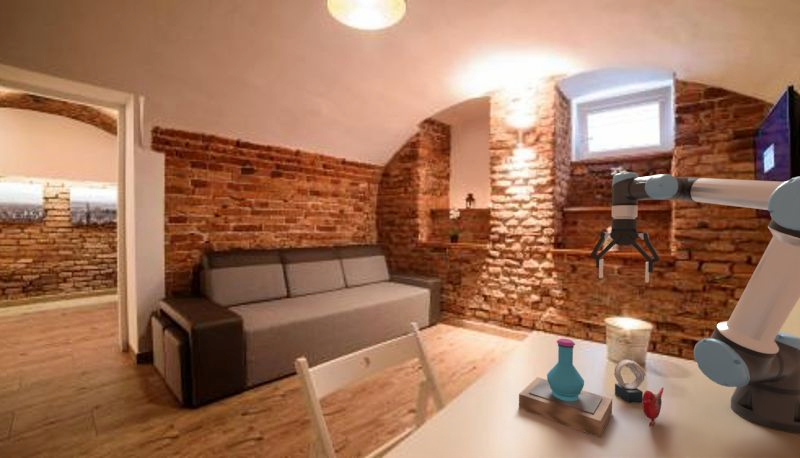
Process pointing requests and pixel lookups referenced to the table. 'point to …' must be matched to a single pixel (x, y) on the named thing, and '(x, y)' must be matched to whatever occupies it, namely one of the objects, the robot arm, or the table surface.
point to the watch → (626, 389)
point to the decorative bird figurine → (652, 405)
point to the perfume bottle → (565, 374)
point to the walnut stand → (567, 407)
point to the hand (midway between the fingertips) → (623, 279)
